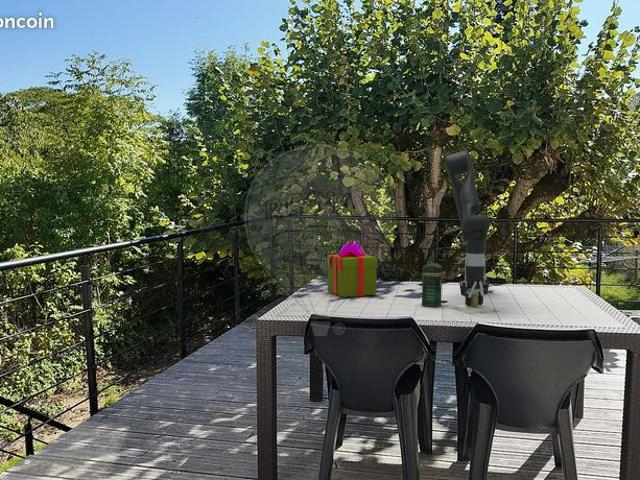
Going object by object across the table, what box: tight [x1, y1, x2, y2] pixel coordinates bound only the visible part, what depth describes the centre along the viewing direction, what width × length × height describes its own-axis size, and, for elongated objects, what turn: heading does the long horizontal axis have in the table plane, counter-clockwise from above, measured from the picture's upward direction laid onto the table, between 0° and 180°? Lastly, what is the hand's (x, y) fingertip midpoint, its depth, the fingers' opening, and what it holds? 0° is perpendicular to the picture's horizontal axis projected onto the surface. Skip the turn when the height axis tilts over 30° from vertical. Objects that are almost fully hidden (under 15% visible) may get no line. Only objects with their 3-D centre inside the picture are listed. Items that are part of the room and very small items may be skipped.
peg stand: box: [454, 294, 495, 313], centre depth 233 cm, size 11×11×6 cm
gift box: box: [326, 241, 378, 298], centre depth 273 cm, size 21×21×25 cm
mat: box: [450, 306, 500, 315], centre depth 233 cm, size 14×14×1 cm
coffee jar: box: [421, 262, 443, 309], centre depth 242 cm, size 10×8×19 cm
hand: (474, 305), depth 233 cm, fingers open, 5 cm apart
